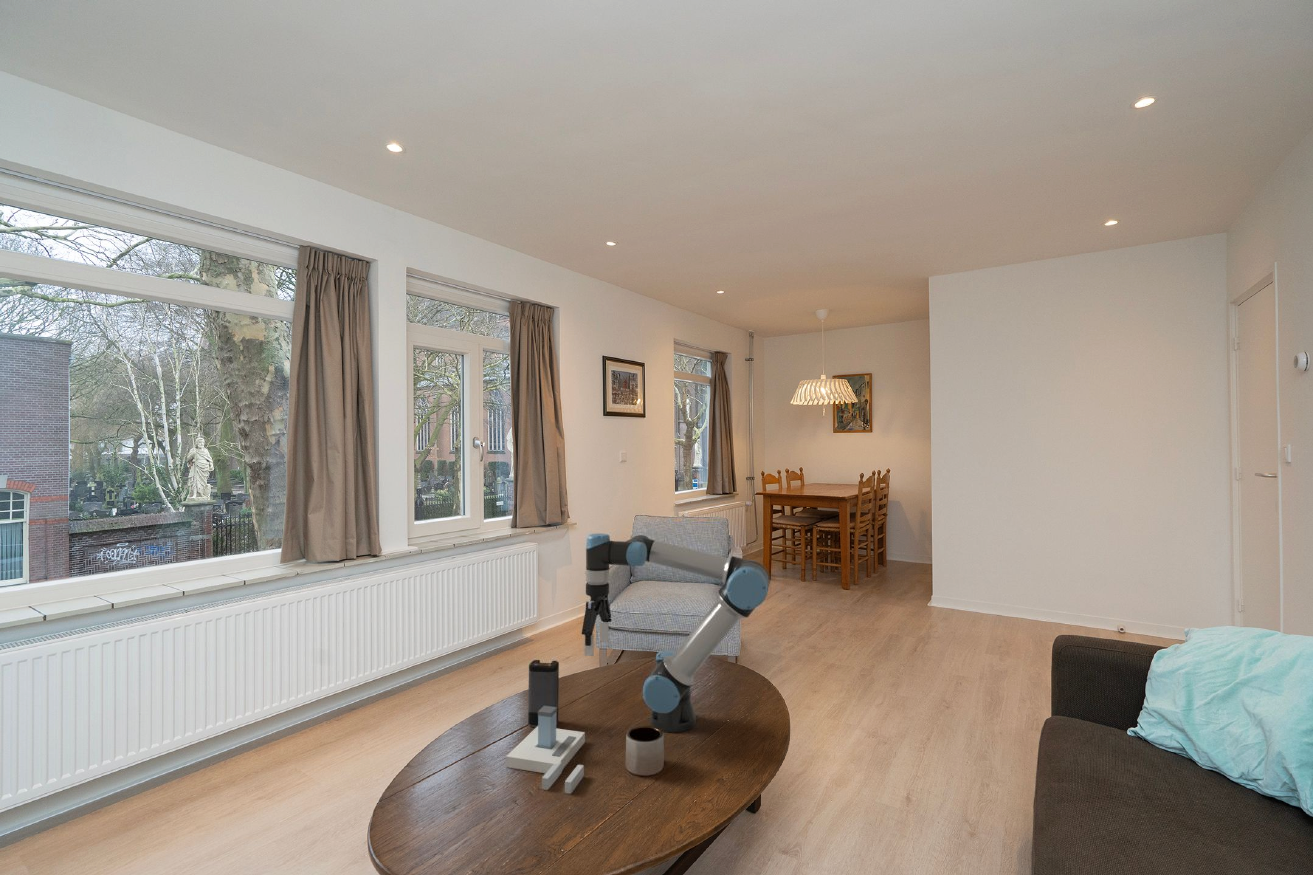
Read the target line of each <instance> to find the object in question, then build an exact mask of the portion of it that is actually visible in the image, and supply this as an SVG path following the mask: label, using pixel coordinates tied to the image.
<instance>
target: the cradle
mask: <svg viewBox="0 0 1313 875" xmlns="http://www.w3.org/2000/svg"><path fill="white" fill-rule="evenodd" d="M555 763H557V762H555ZM584 768H585V766H584V765H583V764H577V765H576V767H575V768H574V769H573V770H572V772H571V773H570V775H568V777H567V778H566V779H565V781H564V794H568V795H571V794H572V793H573V792H574V790H575V789H576V788H577V786H578V785H579V783H580V782H581V781H582V780H583V778H584V774H585V769H584ZM562 772H563V769H562V762H559V764H553V766H552V767H551V768H550V769H549V770H548V771H547V772H546V773H544V775H542V777H541V790H545V791H548V790H549V789H550V788H551V787H552V785H553V784H554V783H555V781H557V780H558V778H559V777H560V776H561V775H562Z"/></svg>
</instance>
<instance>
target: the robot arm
mask: <svg viewBox="0 0 1313 875" xmlns="http://www.w3.org/2000/svg"><path fill="white" fill-rule="evenodd" d="M610 536H611V535H609V534H607V533H591V534H589V535H587V537H586V546H585V562H586V563H585V564H586V565H585V571H584V574H585V581H586V583H585V595H586V596H588V597H590V599H589V601H586V602H585V611H584V618H583V623H582V628H581V635H584V656H585V657H586V656H589V657H593V656H594V654H595V653H594V652H595V651H594V650H595V649H594V642H595V641H594V640H595V638H594V637H595V634H594V629H595V625H596V621H597V618H598V616H599V617H600V621H601V622H599V642H600V643H603V644H604V643H605V644H608V643H609V630H610V629H609V627H610V626H609V623H611V622H612V613H611V608H610V602H609V594H610V583H609V581H610V565H613V566H614V565H615V566H625V567H626V566H628V567H642V566H644V565H645V564H646V562H647V563H651V564H656V565H659V566H663V567H668V568H672V569H675V570H679V571H683V572H687V573H690V574H694V575H699V576H701V577H706V578H710V579H712V580H713V579H714V580H717V581H721V582H722V583H723V585H722V586H721V587H720V588H719V590H718V591H717V597H718V598H717V600H716V602H715V603H714V604H713V605H712V606H711V607H710V609H708V611H707V612H706V614H705V615H704V616H703V617H702V618H701V620H700V621H699V623H697V625H696V626H695V627H694V629H693V630H692V631H691V632H690V633H689V635H688V636H687V637H686V638H685V639H684V641H683V642H682V643H681V644H680V646H679V647H678V648H677V649H676V650H661V651H659V652H656V655H655V656H656V657H655V668H654V669H653V670H652V672H651V673H650V674H649V676H648V677H647V678H646V679H645V681H644V683H643V688H642V696H643V697H642V698H643V700H644V702H645V704H646V706H647V707H648V708H649V709H650V710H651V713H650V718H649V719H650V720H649V721H650V722H649V723H650V726H654V727H657V728H659V729H661V730H662V731H663V732H666V733H682V732H683V733H684V732H687V731H689V730H692V728H694V727H695V726H696V723H697V721H696V719H697V716H696V712H695V710H694V706H693V702H692V700H691V699H692V698H691V697H692V696H691V695H692V694H691V691H692V690H691V688H692V686H693V684H694V682H695V681H694V680H695V679H694V675H695V674H696V673H697V672H698V670H699V669H700V668H701V667H702V665H703V664H704V663H705V662H706V660H707V659H709V657H710V656H711V654H712V653H713V652H714V651H715V650H716V649H717V647H718V646H719V644H721V642H722V641H723V640H724V639H725V638H726V636H727V635H728V634H729V633H730V632H731V630H733V628H734V627H735V625H736V624H737V623H738V621H740V620H741V619H748V618H749V617H750V615H751V614H752V613H753V612H754V611H755V609H756V608H758V607H759V606H761V605H762V604H763V603H764V601H765V600H766V598H767V595H768V593H769V586H770V574H769V571H768V570H767V568H766V567H765V566H764V565H763V564H761V563H760V562H758V561H756V560H753V559H748V558H742V557H737V556H732V555H730V556H729V557H725V556H721V555H720V556H719V555H716V554H712V553H708V552H704V551H700V550H696V549H691V548H688V547H685V546H684V547H683V546H679V545H675V544H671V543H667V542H663V541H659V540H654V539H651V538H650V537H648V536H647V535H643V534H641V535H640V534H639V535H634V536H633V537H632V538H630V539H627V540H626V541H622V540H621V541H618V540H617V541H616V540H611V539H610V538H611V537H610Z"/></svg>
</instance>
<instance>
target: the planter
mask: <svg viewBox="0 0 1313 875" xmlns="http://www.w3.org/2000/svg"><path fill="white" fill-rule="evenodd" d="M625 740H626V741H625V745H626V746H625V768H626V770H628V772H629V773H630V774H633V775H635V776H639V777H640V776H641V777H649V776H654V775H656V774H658V773H660V772H661V771H662V770H663V768H664V765H665V764H664V761H665V760H664V759H665V758H664V757H665V755H664V754H665V753H664V752H665V750H664V743H665V742H664V731H662V730H661V729H659V728H657V727H654V726H652V725H646V724H645V725H643V724H642V725H637V726H633V727H631V728H629V729H627V731H626V738H625Z"/></svg>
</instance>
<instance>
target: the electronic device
mask: <svg viewBox="0 0 1313 875" xmlns="http://www.w3.org/2000/svg"><path fill="white" fill-rule="evenodd" d="M559 662H560V661H557V660H552V661H551V662H541V660H540V659H534V660H532V661H531V662H530V663H529V664H528V701H527V702H528V707H527V709H528V712H527V713H528V715H527V716H528V718H527V719H528V720H527V726H529V727H531V728H536V727H537V726H538V711H539V710H540V709H541V708H542V707H543V706H551V707H557V712H556V725H557V724H558V723H559V692H560V691H559V690H560V688H559V684H560V683H559V682H560V674H559V673H560V672H559V671H560V668H559V667H560V664H559Z"/></svg>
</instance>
